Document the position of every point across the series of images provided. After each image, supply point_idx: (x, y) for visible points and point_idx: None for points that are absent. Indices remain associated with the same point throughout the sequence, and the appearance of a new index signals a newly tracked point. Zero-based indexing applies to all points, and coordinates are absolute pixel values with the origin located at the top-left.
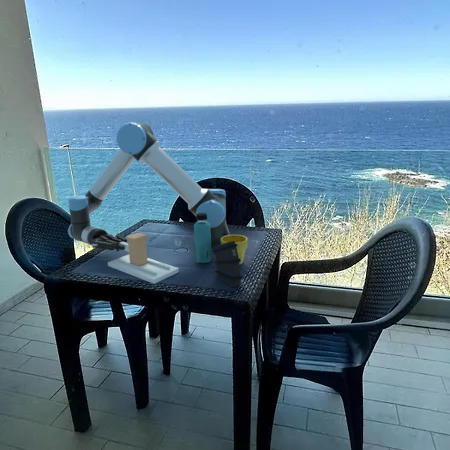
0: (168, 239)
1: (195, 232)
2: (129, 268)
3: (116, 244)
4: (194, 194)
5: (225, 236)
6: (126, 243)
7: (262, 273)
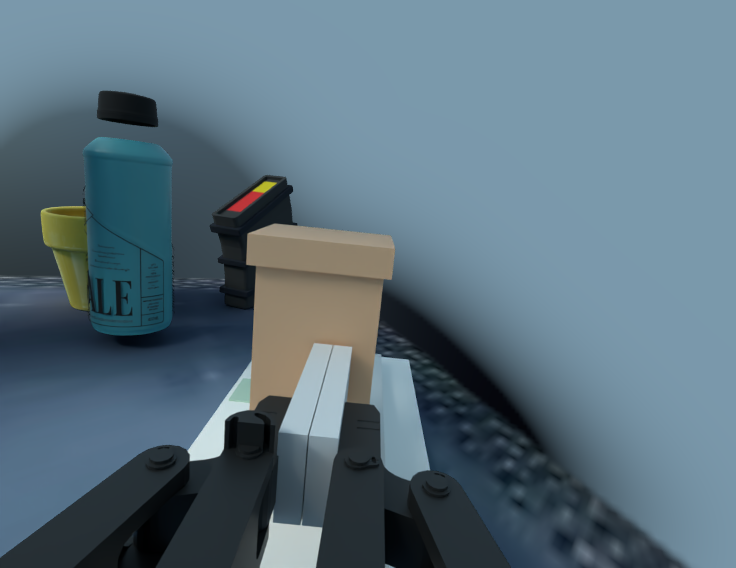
0: None
1: (160, 189)
2: (405, 471)
3: (378, 469)
4: None
5: (66, 216)
6: (316, 381)
7: (185, 278)
